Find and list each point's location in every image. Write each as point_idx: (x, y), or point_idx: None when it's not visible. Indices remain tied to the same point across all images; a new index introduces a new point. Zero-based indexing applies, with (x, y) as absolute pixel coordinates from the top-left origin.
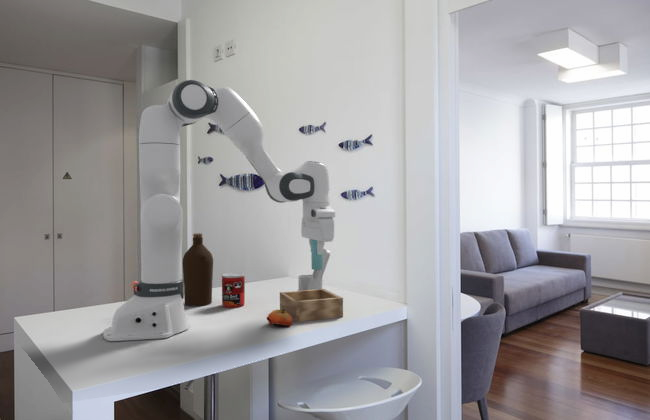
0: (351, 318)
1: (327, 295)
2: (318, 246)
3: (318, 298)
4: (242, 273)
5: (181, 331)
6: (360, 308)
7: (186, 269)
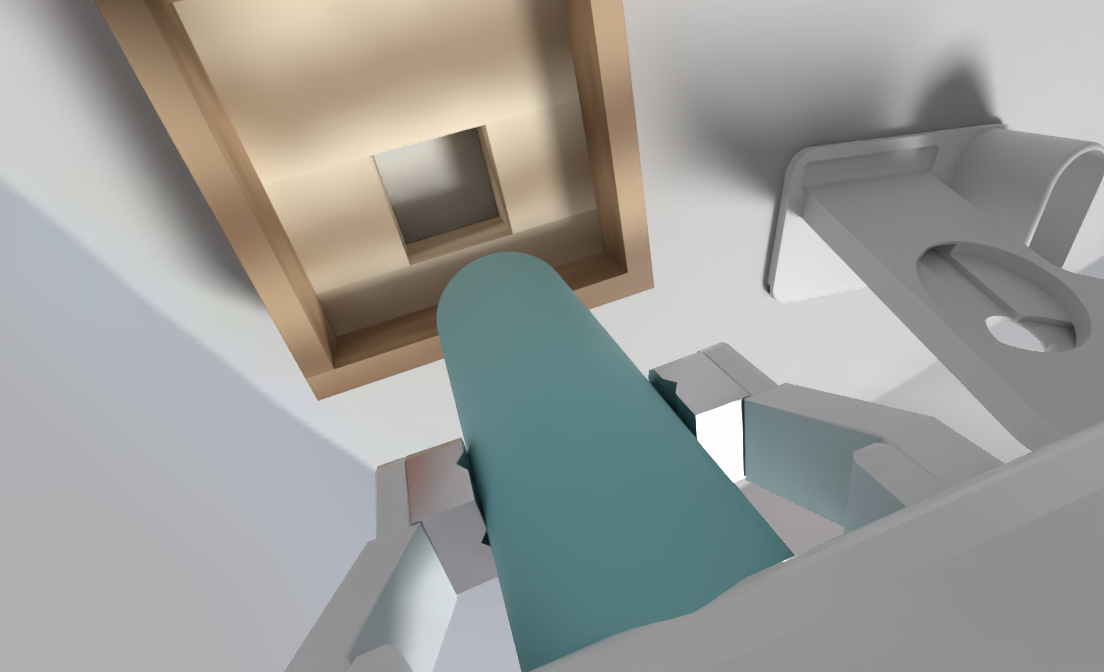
0: (285, 377)
1: None
2: (326, 615)
3: (600, 228)
4: None
5: None
6: None
7: None
